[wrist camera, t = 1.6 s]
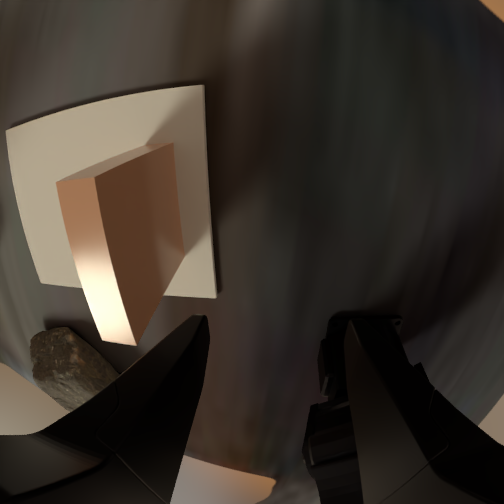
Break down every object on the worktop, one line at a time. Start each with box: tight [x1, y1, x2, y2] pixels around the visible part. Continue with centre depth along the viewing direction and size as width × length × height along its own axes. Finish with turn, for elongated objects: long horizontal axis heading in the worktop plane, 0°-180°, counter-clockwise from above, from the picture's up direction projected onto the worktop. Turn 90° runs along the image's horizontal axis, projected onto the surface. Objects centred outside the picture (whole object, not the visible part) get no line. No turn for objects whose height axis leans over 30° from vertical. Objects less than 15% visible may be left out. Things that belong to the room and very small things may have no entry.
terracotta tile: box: [56, 142, 185, 346], centre depth 15 cm, size 2×8×9 cm, turn 1°
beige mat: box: [6, 85, 217, 298], centre depth 20 cm, size 18×15×1 cm
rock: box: [30, 327, 120, 412], centre depth 27 cm, size 17×7×10 cm
